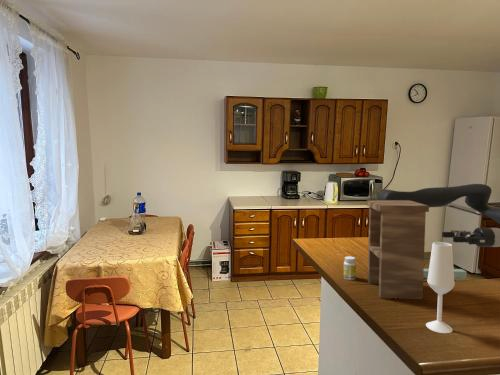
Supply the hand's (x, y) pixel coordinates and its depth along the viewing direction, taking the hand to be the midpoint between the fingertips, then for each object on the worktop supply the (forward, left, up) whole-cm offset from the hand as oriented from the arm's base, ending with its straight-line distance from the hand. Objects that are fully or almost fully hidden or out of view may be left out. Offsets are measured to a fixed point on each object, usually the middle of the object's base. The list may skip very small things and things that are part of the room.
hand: (447, 237), depth 137 cm
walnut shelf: (+15, -26, -16) cm, 34 cm away
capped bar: (0, -7, -17) cm, 18 cm away
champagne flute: (+43, -23, -17) cm, 52 cm away
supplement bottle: (+3, -39, -17) cm, 42 cm away
